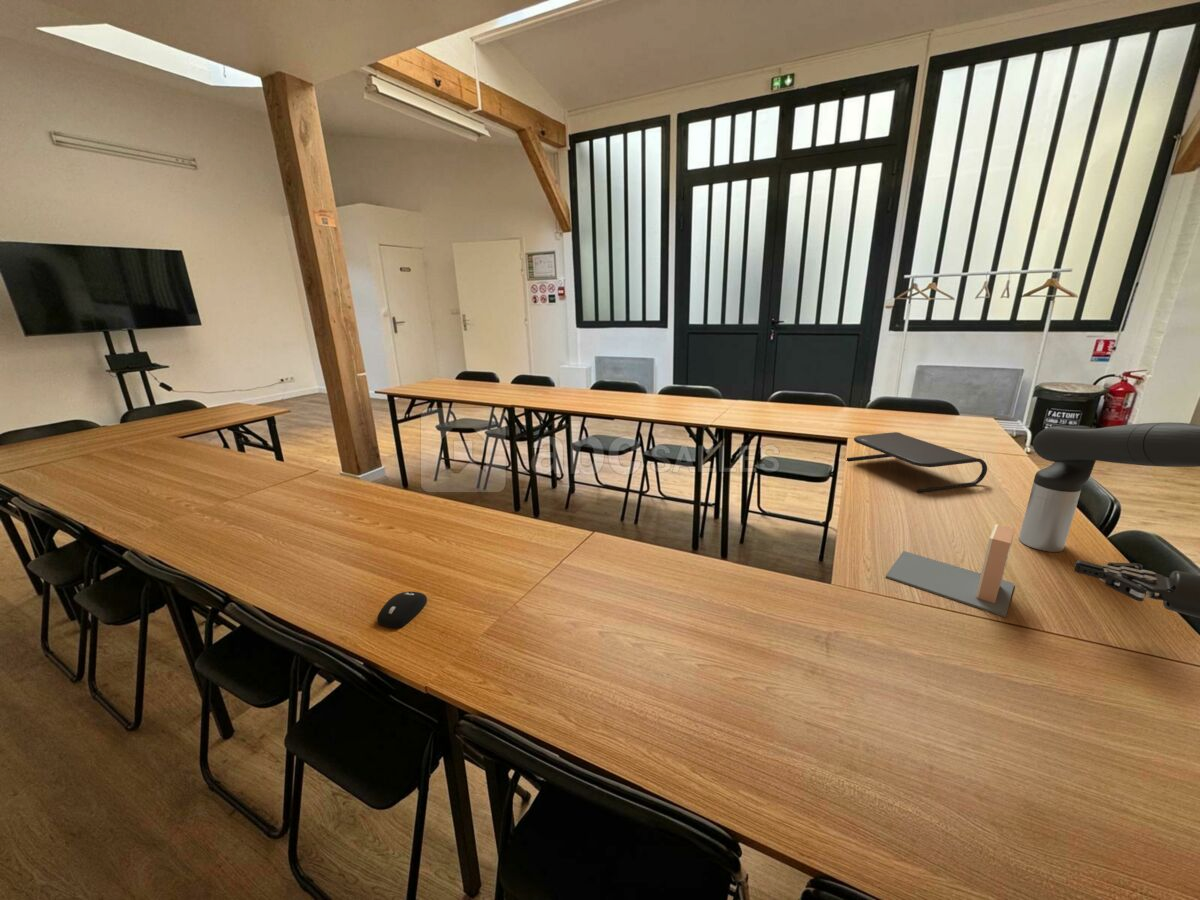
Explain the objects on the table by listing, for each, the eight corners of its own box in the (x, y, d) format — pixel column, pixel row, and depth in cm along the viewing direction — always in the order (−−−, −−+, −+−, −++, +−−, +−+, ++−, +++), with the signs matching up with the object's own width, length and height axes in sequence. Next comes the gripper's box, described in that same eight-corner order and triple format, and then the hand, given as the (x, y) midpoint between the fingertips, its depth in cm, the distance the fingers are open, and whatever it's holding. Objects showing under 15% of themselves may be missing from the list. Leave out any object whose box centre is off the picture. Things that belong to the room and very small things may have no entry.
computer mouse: (435, 600, 115) (432, 585, 113) (400, 632, 104) (397, 616, 103) (409, 595, 117) (407, 581, 116) (373, 625, 106) (370, 610, 105)
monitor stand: (844, 460, 199) (848, 436, 196) (902, 454, 204) (906, 430, 201) (918, 494, 165) (923, 464, 161) (984, 485, 170) (991, 457, 167)
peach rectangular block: (981, 580, 114) (995, 523, 109) (1000, 586, 111) (1015, 528, 107) (975, 597, 108) (989, 538, 103) (994, 603, 105) (1010, 543, 101)
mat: (903, 552, 128) (903, 550, 128) (1014, 585, 112) (1014, 583, 112) (885, 577, 117) (885, 575, 117) (1005, 617, 102) (1006, 615, 101)
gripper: (1209, 566, 89) (1080, 537, 101) (1222, 597, 80) (1079, 562, 92) (1195, 600, 91) (1071, 568, 103) (1207, 634, 83) (1069, 595, 94)
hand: (1075, 565), depth 98 cm, fingers closed
